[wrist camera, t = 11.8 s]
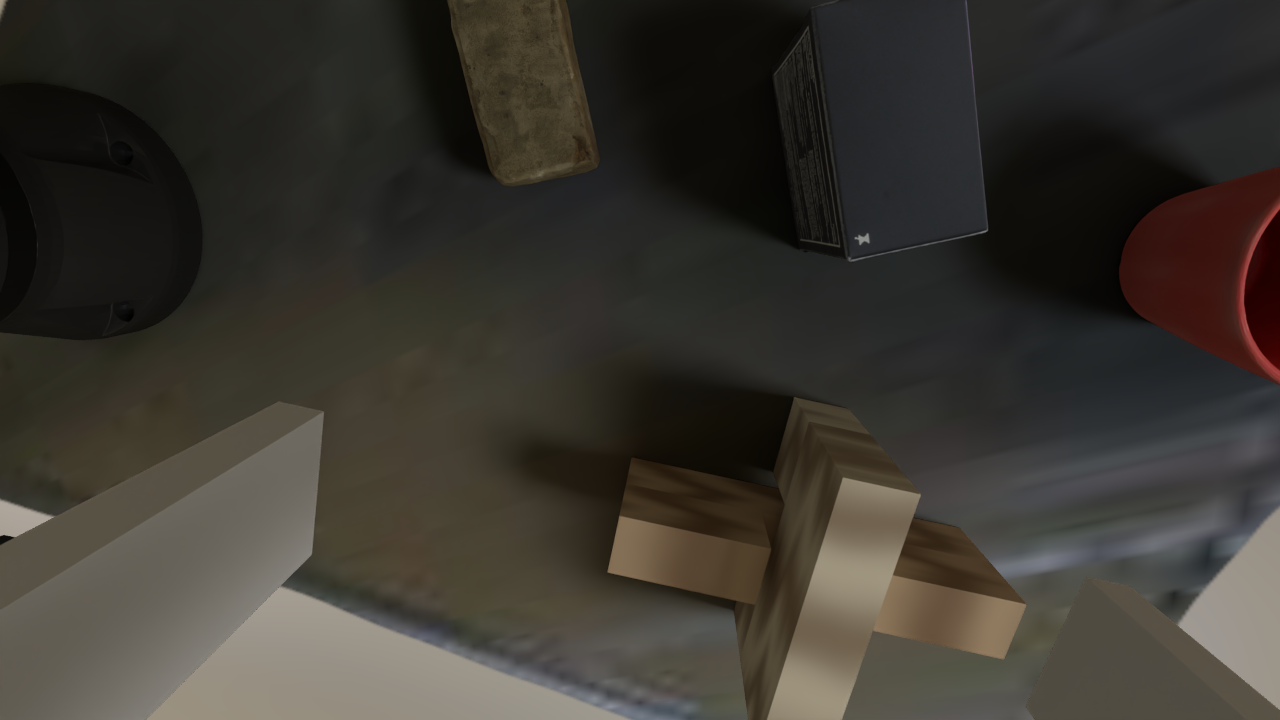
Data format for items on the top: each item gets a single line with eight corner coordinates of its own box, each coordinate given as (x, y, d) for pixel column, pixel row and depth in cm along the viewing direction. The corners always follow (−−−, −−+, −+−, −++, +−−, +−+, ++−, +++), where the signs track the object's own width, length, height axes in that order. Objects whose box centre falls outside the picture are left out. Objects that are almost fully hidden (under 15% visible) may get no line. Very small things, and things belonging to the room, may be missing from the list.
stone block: (516, 193, 37) (491, 189, 32) (461, -11, 34) (424, -48, 30) (608, 169, 36) (596, 162, 31) (558, -40, 34) (537, -83, 29)
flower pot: (1284, 135, 33) (1522, 105, 24) (1293, 325, 35) (1514, 367, 26) (1079, 191, 35) (1228, 184, 25) (1101, 371, 37) (1245, 426, 27)
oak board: (621, 504, 41) (607, 572, 33) (631, 457, 40) (619, 515, 32) (942, 573, 41) (1003, 659, 33) (959, 527, 40) (1026, 604, 32)
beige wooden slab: (783, 621, 42) (821, 777, 31) (733, 610, 42) (753, 761, 31) (848, 408, 38) (921, 494, 27) (794, 397, 38) (843, 477, 27)
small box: (908, 229, 36) (999, 236, 26) (797, 253, 36) (842, 269, 26) (885, 37, 33) (974, -39, 23) (767, 67, 34) (803, 6, 24)
